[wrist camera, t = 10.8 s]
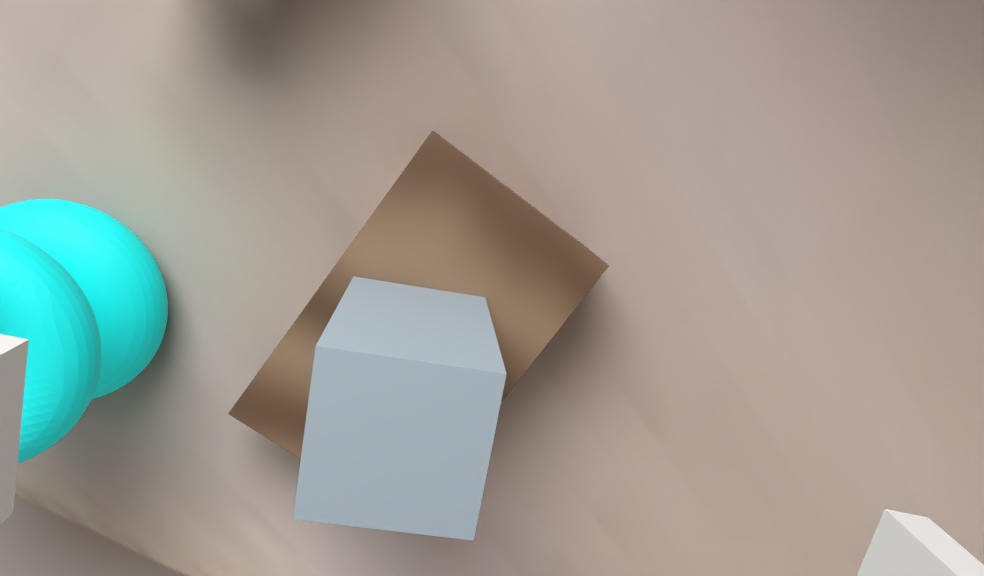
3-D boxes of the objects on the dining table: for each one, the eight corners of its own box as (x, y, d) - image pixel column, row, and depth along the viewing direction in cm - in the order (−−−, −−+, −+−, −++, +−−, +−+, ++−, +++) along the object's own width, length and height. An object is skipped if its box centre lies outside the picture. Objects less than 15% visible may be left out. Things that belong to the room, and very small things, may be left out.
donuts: (111, 460, 26) (-156, 507, 26) (199, 371, 36) (5, 404, 36) (29, 202, 24) (-265, 250, 24) (146, 180, 34) (-61, 214, 33)
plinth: (433, 130, 35) (432, 131, 30) (586, 247, 37) (608, 265, 32) (256, 376, 37) (228, 413, 32) (409, 474, 39) (405, 523, 34)
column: (353, 276, 31) (315, 345, 21) (485, 297, 32) (506, 373, 22) (335, 400, 32) (292, 519, 23) (462, 418, 33) (473, 540, 23)
